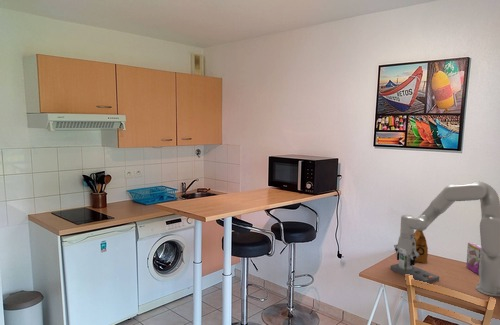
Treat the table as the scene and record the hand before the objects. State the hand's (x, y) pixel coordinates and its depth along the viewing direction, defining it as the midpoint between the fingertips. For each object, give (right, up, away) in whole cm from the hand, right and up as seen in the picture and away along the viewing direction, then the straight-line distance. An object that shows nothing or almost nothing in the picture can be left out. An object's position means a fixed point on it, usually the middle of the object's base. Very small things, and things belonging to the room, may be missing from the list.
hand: (405, 262), depth 207 cm
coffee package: (+18, -4, +19) cm, 26 cm away
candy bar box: (+43, -6, 0) cm, 44 cm away
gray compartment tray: (+3, -6, -5) cm, 8 cm away
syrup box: (0, -6, +1) cm, 6 cm away
